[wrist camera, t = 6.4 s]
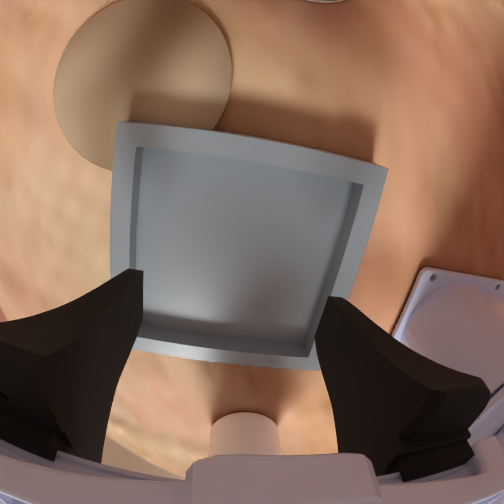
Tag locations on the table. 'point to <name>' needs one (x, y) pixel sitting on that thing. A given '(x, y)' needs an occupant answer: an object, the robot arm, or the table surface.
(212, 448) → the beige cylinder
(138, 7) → the cork coaster
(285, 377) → the table surface
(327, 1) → the supplement bottle
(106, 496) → the robot arm
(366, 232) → the tray
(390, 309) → the table surface
